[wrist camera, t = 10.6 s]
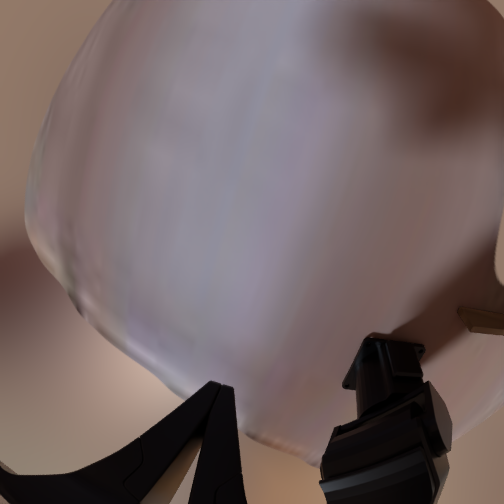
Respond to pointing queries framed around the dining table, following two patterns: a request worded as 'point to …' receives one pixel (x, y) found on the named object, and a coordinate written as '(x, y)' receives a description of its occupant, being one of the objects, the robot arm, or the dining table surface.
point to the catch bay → (482, 321)
